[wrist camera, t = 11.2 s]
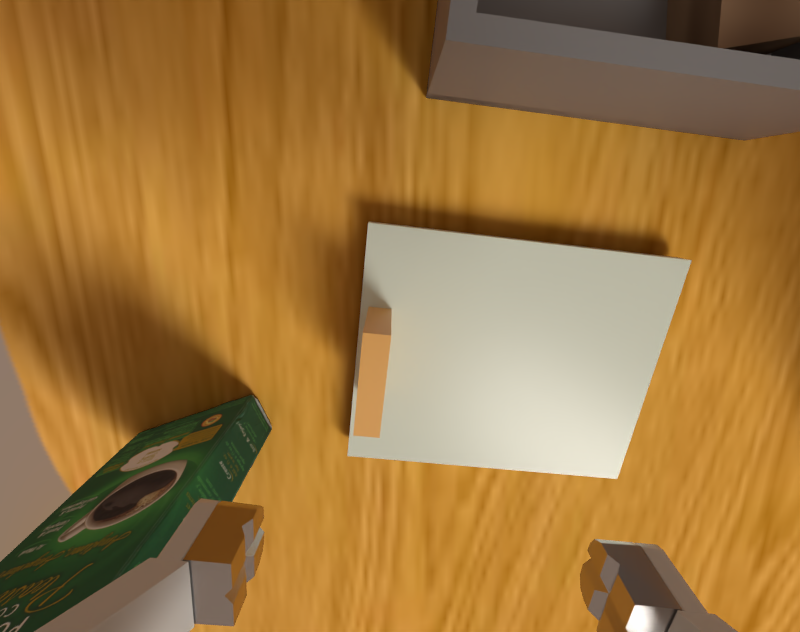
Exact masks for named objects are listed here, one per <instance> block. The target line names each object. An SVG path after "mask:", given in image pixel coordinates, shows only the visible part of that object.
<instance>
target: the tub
mask: <svg viewBox="0 0 800 632" xmlns="http://www.w3.org/2000/svg"><path fill="white" fill-rule="evenodd" d="M667 5H668V0H438V3H437V11H436V20H435V28H434V36H433V45H432V53H431V61H430V70H429V78H428V86H427V95H426V98H431V99H439V100H446V101H454V102H461V103H469V104H476V105H484V106H491V107H499V108H506V109H514V110H521V111H529V112H536V113H544V114H551V115H559V116H566V117H573V118H581V119H588V120H596V121H603V122H611V123H618V124H626V125H633V126H641V127H648V128H656V129H663V130H671V131H678V132H686V133H693V134H700V135H708V136H715V137H723V138H730V139H738V140H750V139H756V138H762V137H768V136H774V135H781V134H787V133H793V132H799V131H800V42H798V43H795V44H792V45H790V46H787V47H785V48H782V49H779V50H777V51H774V52H771V53H769V54H766V55H764V54H757V53H750V52H744V51H737V50H730V49H723V48H716V47H709V46H703V45H696V44H689V43H682V42H675V41H668V40H666V25H667Z"/></svg>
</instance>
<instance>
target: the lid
mask: <svg viewBox="0 0 800 632" xmlns="http://www.w3.org/2000/svg"><path fill="white" fill-rule="evenodd" d="M691 261H692V260H687V259H683V258H678V257H670V256H661V255H653V254H644V253H636V252H627V251H619V250H610V249H601V248H593V247H584V246H576V245H567V244H559V243H550V242H542V241H533V240H525V239H516V238H507V237H499V236H490V235H482V234H473V233H465V232H456V231H448V230H439V229H431V228H422V227H413V226H405V225H396V224H388V223H379V222H371V221H369V222H368V230H367V241H366V252H365V264H364V275H363V286H362V298H361V309H360V320H359V332H358V343H357V354H356V366H355V377H354V388H353V400H352V411H351V422H350V434H349V445H348V456H355V457H367V458H379V459H390V460H402V461H414V462H425V463H437V464H449V465H461V466H472V467H484V468H496V469H507V470H519V471H531V472H543V473H554V474H566V475H578V476H589V477H601V478H613V479H617V478H618V475H619V472H620V469H621V466H622V463H623V460H624V457H625V455H626V452H627V449H628V446H629V443H630V440H631V437H632V434H633V431H634V428H635V425H636V422H637V419H638V416H639V413H640V410H641V408H642V405H643V402H644V399H645V396H646V393H647V390H648V387H649V384H650V381H651V378H652V375H653V372H654V369H655V366H656V363H657V361H658V358H659V355H660V352H661V349H662V346H663V343H664V340H665V337H666V334H667V331H668V328H669V325H670V322H671V319H672V316H673V314H674V311H675V308H676V305H677V302H678V299H679V296H680V293H681V290H682V287H683V284H684V281H685V278H686V275H687V272H688V269H689V267H690V264H691Z"/></svg>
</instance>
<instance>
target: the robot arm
mask: <svg viewBox="0 0 800 632" xmlns="http://www.w3.org/2000/svg"><path fill="white" fill-rule="evenodd" d="M263 519H264V509H263V507H262V506H259V505H252V504H244V503H236V502H228V501H218V500H210V499H202V498H201V499H200V500H199V501H197V502H196V503H195V504H194V505H193V507H192V508H191V510H190V511H189V513H188V514H187V515H186V517H185V518H184V520H183V521H182V523H181V524H180V525H179V527H178V528H177V530H176V531H175V533H174V534H173V536H172V537H171V538H170V540H169V541H168V543H167V544H166V546H165V547H164V548H163V550H162V551H161V553H160V554H159V556H158V557H157V558H149V559H147V560H146V561H144V562H143V563H141V564H139V565H138V566H136V567H135V568H133V569H132V570H130V571H128V572H127V573H125V574H124V575H122V576H121V577H119V578H117V579H116V580H114V581H113V582H111V583H110V584H108V585H106V586H105V587H103V588H102V589H100V590H99V591H97V592H95V593H94V594H92V595H91V596H89V597H88V598H86V599H84V600H83V601H81V602H80V603H78V604H77V605H75V606H73V607H72V608H70V609H69V610H67V611H66V612H64V613H62V614H61V615H59V616H58V617H56V618H55V619H53V620H51V621H50V622H48V623H47V624H45V625H44V626H42V627H40V628H39V629H37V630H36V631H34V632H189V631H190V630H191V629H192V628H193V627H194V624H208V625H223V626H234V625H235V622H236V620H237V618H238V615H239V613H240V610H241V608H242V605H243V603H244V601H245V598H246V596H247V589H246V583H247V582H248V581H249V580H250V579H252V578H253V577H254V576H255V573H256V571H257V568H258V566H259V563H260V559H261V555H262V551H263V545H264V531H263V530H262V529H261V528H260V526H261V523H262V521H263ZM588 553H589V555H590V557H591V559H589V560H588V561H587V562H585V563H584V564H583V566H582V569H581V573H580V588H581V592H582V596H583V599H584V602H585V604H586V606H587V609H588V610H589V611H590V612H591V613H592V614H593V615H594V616H595V617H596V618H597V619H598V620H599V622H598V626H597V632H737V631H736V630H735V629H733V628H732V627H731V626H729V625H728V624H727V623H726V622H724V621H723V620H722V619H720V618H719V617H718V616H716V615H715V614H709V613H707V611H706V610H705V608H704V607H703V606H702V604H701V603H700V601H699V600H698V599H697V597H696V596H695V594H694V593H693V591H692V590H691V589H690V587H689V586H688V584H687V583H686V582H685V580H684V579H683V577H682V576H681V575H680V573H679V572H678V570H677V569H676V568H675V566H674V565H673V563H672V562H671V561H670V559H669V558H668V556H667V555H666V554H665V552H664V551H663V550H662V549H661V548H660V547H659V546H657V545H653V544H642V543H632V542H621V541H610V540H599V539H594V540H593V541H592V542H591V543H590V545H589V548H588Z"/></svg>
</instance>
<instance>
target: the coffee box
mask: <svg viewBox="0 0 800 632" xmlns="http://www.w3.org/2000/svg"><path fill="white" fill-rule="evenodd" d="M271 429H272V426H271V424H270V422H269V420H268V418H267V416H266V414H265V412H264V410H263V408H262V407H261V404H260V403H259V401H258V399H256V398H255V397H254V395H249V396H246V397H244V398H241V399H238V400H235V401H230V402H227V403H224V404H222V405H220V406H218V407H215V408H212V409H209V410H206V411H203V412H200V413H197V414H194V415H191V416H188V417H185V418H182V419H179V420H176V421H173V422H170V423H167V424H164V425H161V426H158V427H156V428H152V429H150V430H147V431H144V432H141V433H139V434H138V435H137V436H135V437H134V438H133V439H132V440H131V441H130V442H129V443H127V444H126V445H125V446H124V447H123V448H122V449H121V450H119V452H118V453H117V454H116V455H114V456H113V457H112V458H111V459H110V460H109V461H108V462H107V463H106V464H105V465H104V466H103V467H101V468H100V469H99V470H98V471H97V472H96V473H95V474H94V475H93V476H92V477H91V478H90V479H88V480H87V481H86V482H85V483H84V484H83V485H82V486H81V487H80V488H79V489H78V490H77V491H76V492H75V493H73V494H72V495H71V496H70V497H69V498H68V499H67V500H66V501H65V502H64V503H63V504H62V505H61V506H60V507H59V508H58V509H57V510H55V511H54V512H53V513H52V514H51V515H50V516H49V517H48V518H47V519H46V520H45V521H44V522H43V523H42V524H41V525H40V526H38V527H37V528H36V529H35V530H34V531H33V532H32V533H31V534H30V535H29V536H28V537H27V538H26V539H25V540H24V541H22V542H21V543H20V544H19V545H18V546H17V547H16V548H15V549H14V550H13V551H12V552H11V553H10V554H8V555H7V556H6V557H5V558H4V559H3V560H2V561H1V562H0V632H34V631H36V630H37V629H39V628H40V627H42V626H44V625H45V624H47V623H48V622H50V621H51V620H53V619H55V618H56V617H58V616H59V615H61V614H62V613H64V612H66V611H67V610H69V609H70V608H72V607H73V606H75V605H77V604H78V603H80V602H81V601H83V600H84V599H86V598H88V597H89V596H91V595H92V594H94V593H95V592H97V591H99V590H100V589H102V588H103V587H105V586H106V585H108V584H110V583H111V582H113V581H114V580H116V579H117V578H119V577H121V576H122V575H124V574H125V573H127V572H128V571H130V570H132V569H133V568H135V567H136V566H138V565H139V564H141V563H143V562H144V561H146V560H147V559H149V558H157V557H158V556H159V554H160V553H161V551H162V550H163V548H164V547H165V546H166V544H167V543H168V541H169V540H170V538H171V537H172V536H173V534H174V533H175V531H176V530H177V528H178V527H179V525H180V524H181V523H182V521H183V520H184V518H185V517H186V515H187V514H188V513H189V511H190V510H191V508H192V507H193V505H194V504H195V503H196V502H197V501H199V500H200V499H201V498H202V499H210V500H218V501H228V502H232V501H233V499H234V497H235V495H236V493H237V492H238V490H239V488H240V486H241V485H242V483H243V481H244V479H245V477H246V475H247V473H248V472H249V470H250V468H251V467H252V465H253V463H254V461H255V459H256V457H257V455H258V453H259V452H260V450H261V448H262V446H263V444H264V442H265V441H266V439H267V437H268V435H269V433H270V432H271Z"/></svg>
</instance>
